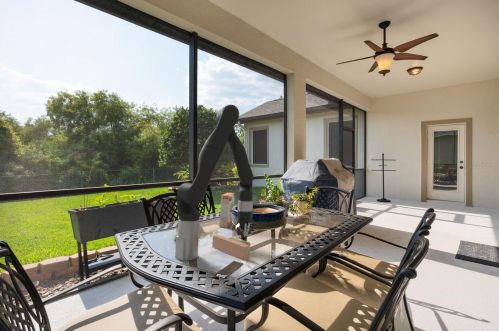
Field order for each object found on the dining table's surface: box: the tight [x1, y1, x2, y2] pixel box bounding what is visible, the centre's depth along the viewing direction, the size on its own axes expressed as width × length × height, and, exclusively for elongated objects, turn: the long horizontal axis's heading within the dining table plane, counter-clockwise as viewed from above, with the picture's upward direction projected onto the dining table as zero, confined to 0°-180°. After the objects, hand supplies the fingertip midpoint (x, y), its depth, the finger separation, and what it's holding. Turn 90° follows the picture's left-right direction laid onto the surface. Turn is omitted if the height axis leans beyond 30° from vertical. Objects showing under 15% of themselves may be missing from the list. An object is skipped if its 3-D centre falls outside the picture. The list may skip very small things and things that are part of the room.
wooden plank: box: [213, 260, 244, 276], centre depth 113 cm, size 17×1×5 cm
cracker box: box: [218, 192, 236, 229], centre depth 183 cm, size 14×6×21 cm, turn 168°
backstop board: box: [211, 234, 250, 261], centre depth 133 cm, size 3×22×6 cm, turn 48°
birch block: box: [228, 236, 251, 254], centre depth 136 cm, size 6×12×5 cm, turn 48°
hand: (243, 243), depth 139 cm, fingers closed
